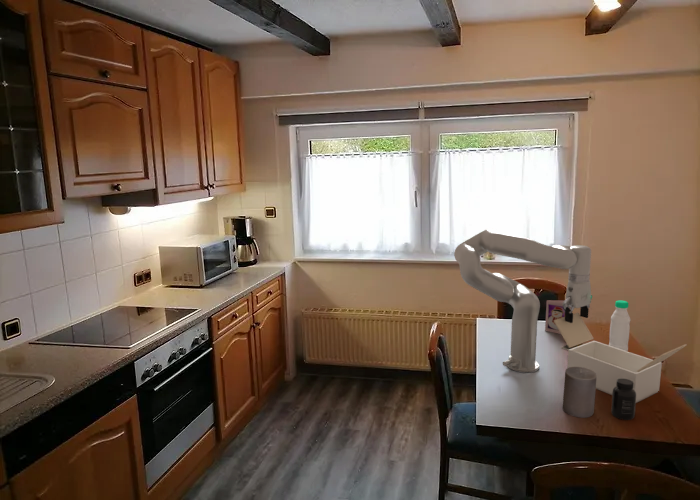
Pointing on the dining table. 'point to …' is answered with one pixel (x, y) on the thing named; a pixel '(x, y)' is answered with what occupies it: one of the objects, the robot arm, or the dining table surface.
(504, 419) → the dining table surface
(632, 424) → the dining table surface
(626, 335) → the water bottle
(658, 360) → the near flap
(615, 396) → the supplement bottle
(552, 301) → the greeting card
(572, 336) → the far flap
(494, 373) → the dining table surface
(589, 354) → the carton
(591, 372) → the pillar candle
